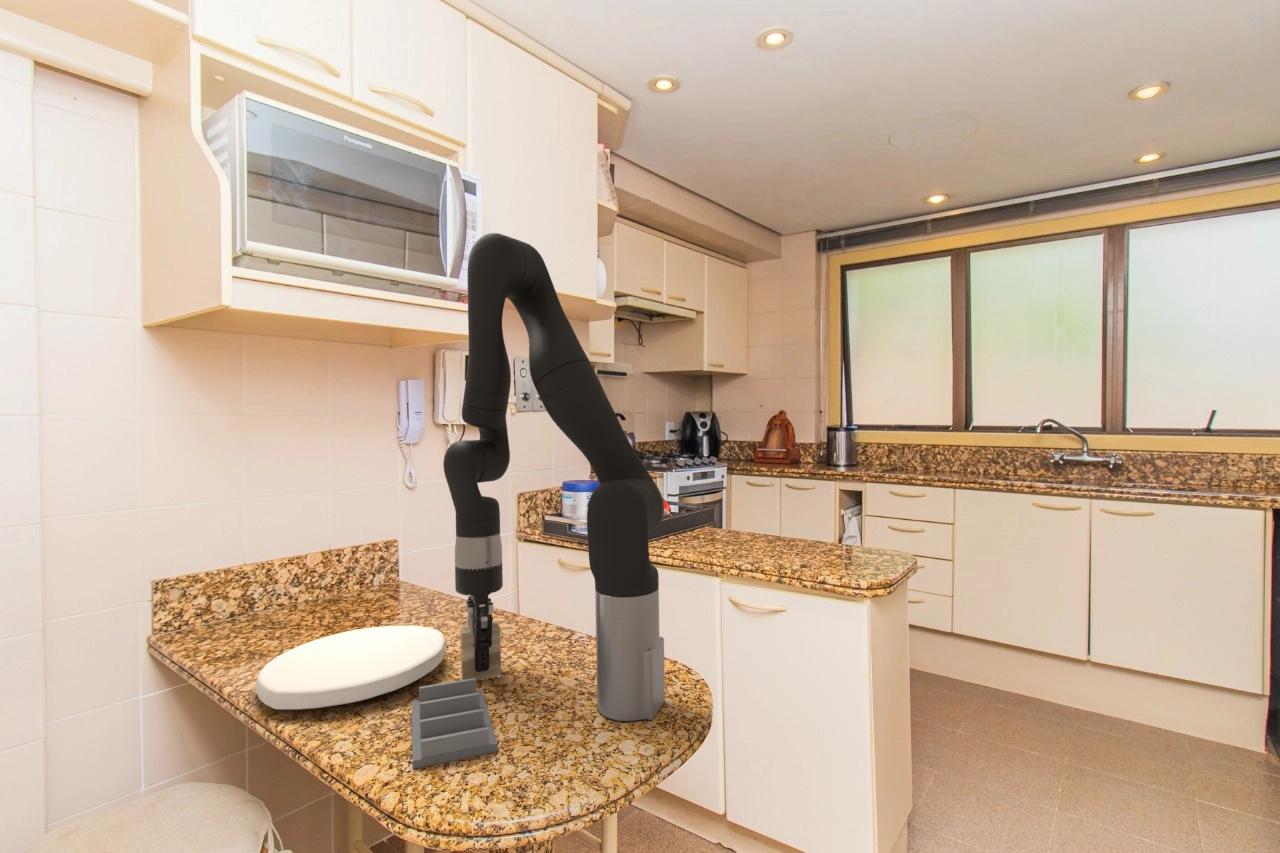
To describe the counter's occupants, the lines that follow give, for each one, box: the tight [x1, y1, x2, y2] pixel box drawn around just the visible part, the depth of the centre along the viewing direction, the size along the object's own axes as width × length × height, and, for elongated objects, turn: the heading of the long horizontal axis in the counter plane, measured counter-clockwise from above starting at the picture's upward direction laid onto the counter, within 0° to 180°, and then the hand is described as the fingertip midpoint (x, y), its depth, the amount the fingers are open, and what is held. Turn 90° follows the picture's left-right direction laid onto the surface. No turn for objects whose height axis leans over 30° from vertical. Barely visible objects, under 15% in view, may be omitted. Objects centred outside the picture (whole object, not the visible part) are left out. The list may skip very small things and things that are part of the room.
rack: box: [411, 678, 498, 770], centre depth 83 cm, size 17×10×3 cm, turn 21°
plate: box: [255, 625, 446, 711], centre depth 100 cm, size 28×6×27 cm
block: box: [459, 621, 502, 682], centre depth 100 cm, size 4×6×8 cm, turn 111°
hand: (480, 665), depth 100 cm, fingers closed on block, 3 cm apart
